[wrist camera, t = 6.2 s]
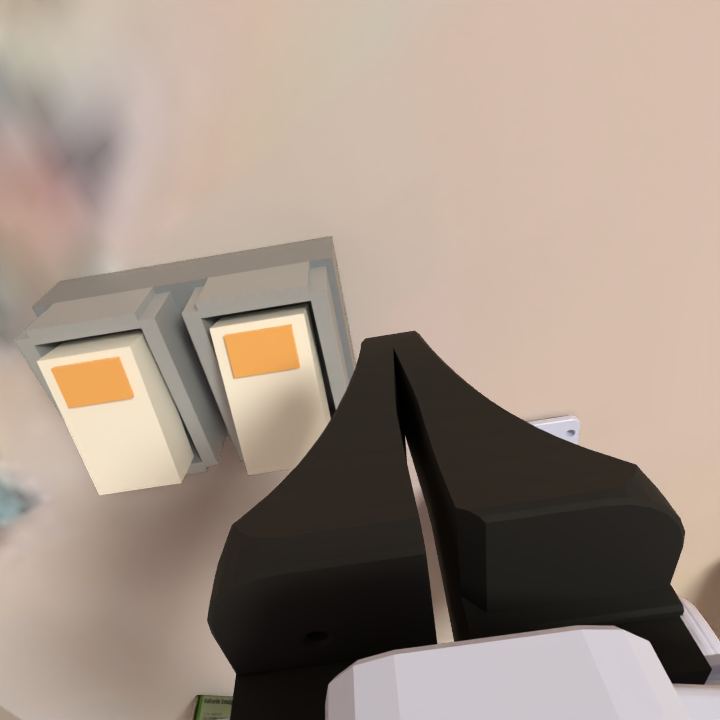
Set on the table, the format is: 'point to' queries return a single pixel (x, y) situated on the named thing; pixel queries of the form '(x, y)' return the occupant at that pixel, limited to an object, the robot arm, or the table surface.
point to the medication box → (211, 707)
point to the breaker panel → (201, 324)
